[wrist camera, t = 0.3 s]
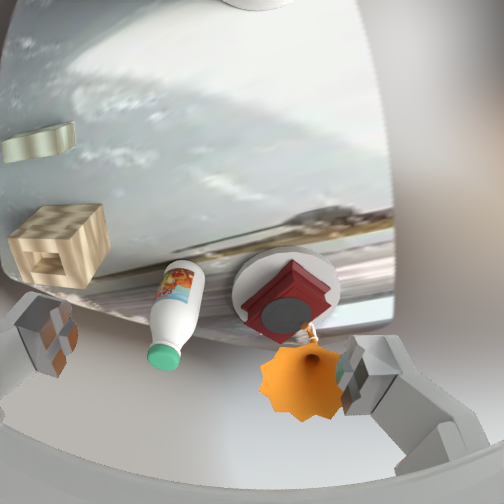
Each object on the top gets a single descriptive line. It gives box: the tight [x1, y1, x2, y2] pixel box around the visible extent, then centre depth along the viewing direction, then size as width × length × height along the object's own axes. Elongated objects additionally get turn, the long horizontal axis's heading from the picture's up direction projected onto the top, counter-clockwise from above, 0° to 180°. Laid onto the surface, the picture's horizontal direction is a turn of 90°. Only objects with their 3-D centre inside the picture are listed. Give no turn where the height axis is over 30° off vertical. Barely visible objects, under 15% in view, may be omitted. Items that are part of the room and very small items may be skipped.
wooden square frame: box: [7, 204, 111, 289], centre depth 45 cm, size 14×9×12 cm, turn 88°
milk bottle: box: [147, 260, 205, 371], centre depth 47 cm, size 8×8×20 cm
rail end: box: [1, 122, 76, 164], centre depth 36 cm, size 12×4×9 cm, turn 88°
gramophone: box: [232, 246, 344, 422], centre depth 47 cm, size 20×20×25 cm
